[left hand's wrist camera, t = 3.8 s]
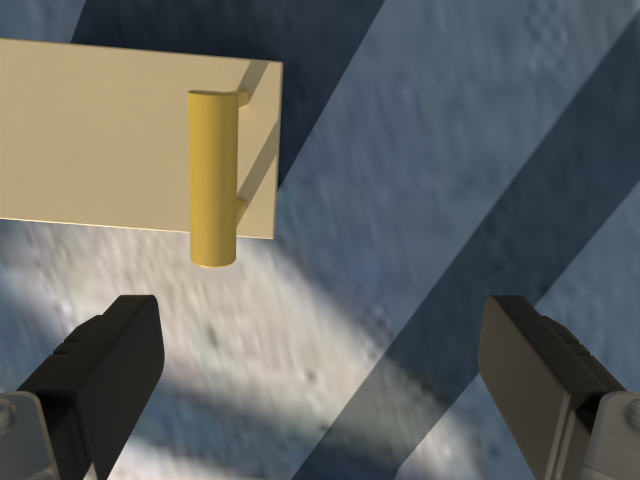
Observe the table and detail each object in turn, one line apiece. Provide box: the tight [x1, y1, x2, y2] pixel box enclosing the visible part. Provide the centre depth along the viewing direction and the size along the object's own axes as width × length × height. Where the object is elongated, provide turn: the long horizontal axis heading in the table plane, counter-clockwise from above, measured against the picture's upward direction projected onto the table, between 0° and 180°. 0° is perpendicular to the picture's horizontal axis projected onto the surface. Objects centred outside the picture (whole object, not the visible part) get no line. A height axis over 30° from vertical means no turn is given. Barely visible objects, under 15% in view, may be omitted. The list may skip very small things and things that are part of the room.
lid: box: [0, 37, 283, 268], centre depth 22 cm, size 17×10×9 cm, turn 85°
